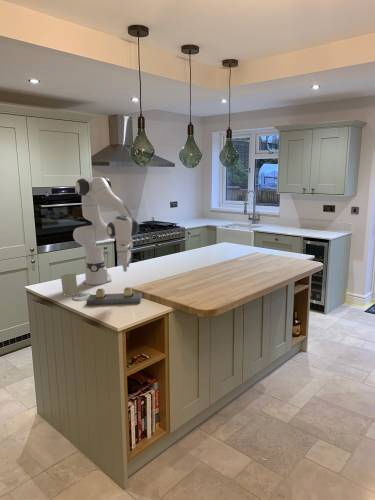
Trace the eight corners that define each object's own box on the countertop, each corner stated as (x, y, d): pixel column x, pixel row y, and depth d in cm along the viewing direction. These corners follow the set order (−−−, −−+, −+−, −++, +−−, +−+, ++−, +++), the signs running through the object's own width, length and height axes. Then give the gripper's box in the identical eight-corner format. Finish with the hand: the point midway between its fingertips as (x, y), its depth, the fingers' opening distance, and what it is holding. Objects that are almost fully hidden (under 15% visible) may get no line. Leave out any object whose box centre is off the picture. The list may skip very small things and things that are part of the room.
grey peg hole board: (91, 299, 227) (90, 294, 226) (142, 297, 227) (141, 292, 226) (87, 305, 217) (86, 300, 216) (140, 303, 217) (139, 297, 217)
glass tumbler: (74, 290, 247) (72, 272, 244) (80, 293, 240) (78, 274, 237) (60, 293, 241) (58, 275, 238) (66, 296, 234) (64, 277, 231)
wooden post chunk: (125, 299, 224) (124, 287, 222) (132, 299, 224) (131, 286, 223) (124, 302, 220) (123, 289, 219) (131, 301, 220) (130, 288, 219)
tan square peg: (98, 301, 224) (97, 288, 222) (105, 300, 224) (104, 288, 222) (97, 303, 220) (95, 290, 218) (104, 303, 220) (102, 290, 218)
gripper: (121, 241, 225) (123, 264, 228) (116, 249, 205) (118, 274, 208) (132, 241, 226) (134, 264, 228) (127, 248, 206) (129, 273, 208)
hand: (126, 269), depth 218 cm, fingers open, 8 cm apart
